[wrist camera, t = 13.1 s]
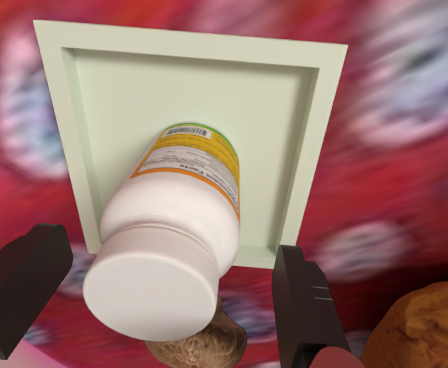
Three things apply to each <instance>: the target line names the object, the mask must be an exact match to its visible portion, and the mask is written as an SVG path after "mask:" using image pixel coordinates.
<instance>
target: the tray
mask: <svg viewBox="0 0 448 368" xmlns="http://www.w3.org/2000/svg"><path fill="white" fill-rule="evenodd" d="M33 23H34V27H35V31H36V35H37V40H38V44H39V48H40V52H41V57H42V61H43V65H44V69H45V73H46V78H47V82H48V86H49V90H50V94H51V99H52V103H53V107H54V111H55V116H56V120H57V124H58V128H59V132H60V137H61V141H62V145H63V149H64V153H65V158H66V162H67V166H68V170H69V175H70V179H71V183H72V187H73V191H74V196H75V200H76V204H77V208H78V212H79V217H80V221H81V225H82V229H83V234H84V238H85V242H86V246H87V250H88V254H98V252H99V250H100V248H101V247H102V243H101V238H100V222H101V217H102V214H103V211H104V209H105V207H106V205H107V203H108V201H109V200H110V198H111V197H112V195H113V194H114V192H115V191H116V190H117V188H118V187H119V186H120V184H121V183H122V182H123V180H124V179H125V178H126V176H127V175H128V174H129V172H130V171H131V170H132V168H133V167H134V166H135V164H136V163H137V162H138V160H139V159H140V157H141V156H142V155H143V153H144V152H145V151H146V149H147V148H148V146H149V145H150V144H151V143H152V141H153V140H154V139H155V137H156V136H157V135H158V134H159V133H160V132H161V131H162V130H164V129H165V128H167V127H168V126H170V125H173V124H175V123H178V122H184V121H198V122H202V123H206V124H209V125H211V126H213V127H215V128H217V129H219V130H220V131H221V132H223V133H224V134H225V135H226V136H227V137H228V138H229V140H230V141H231V142H232V144H233V145H234V147H235V149H236V152H237V155H238V159H239V169H240V245H239V250H238V253H237V256H236V259H235V261H234V263H233V264H232V265H233V266H245V267H257V268H269V269H274V264H275V260H276V255H277V251H278V247H279V245H280V244H281V245H293V246H295V245H296V241H297V237H298V233H299V230H300V226H301V222H302V218H303V214H304V211H305V207H306V203H307V199H308V195H309V192H310V188H311V184H312V180H313V176H314V173H315V169H316V165H317V161H318V158H319V154H320V150H321V146H322V142H323V139H324V135H325V131H326V127H327V123H328V120H329V116H330V112H331V108H332V104H333V101H334V97H335V93H336V89H337V85H338V82H339V78H340V74H341V70H342V66H343V63H344V59H345V55H346V51H347V48H348V45H343V44H337V43H325V42H312V41H300V40H288V39H275V38H263V37H250V36H238V35H226V34H213V33H201V32H189V31H176V30H164V29H152V28H139V27H127V26H114V25H102V24H90V23H77V22H65V21H51V20H33Z"/></svg>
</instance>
